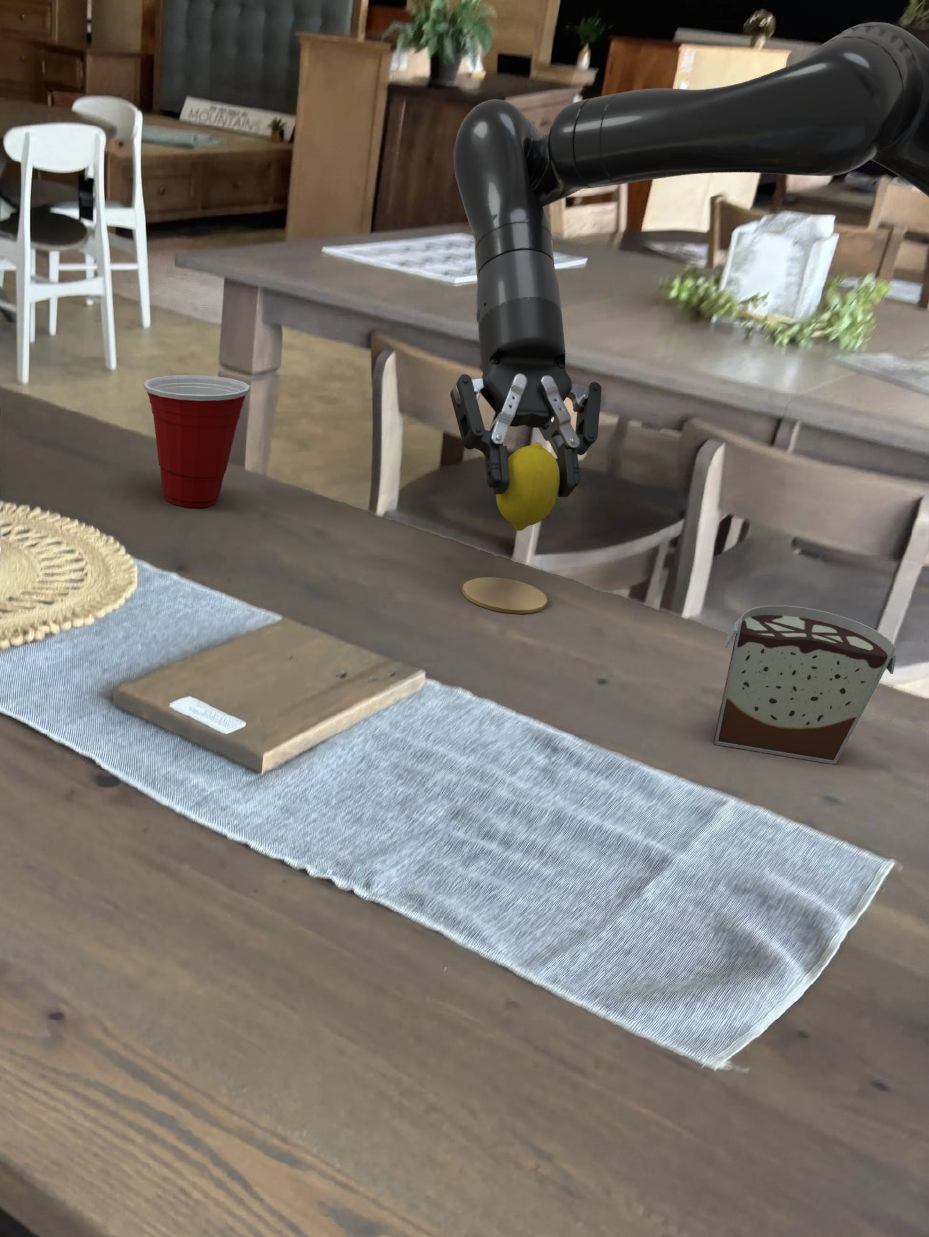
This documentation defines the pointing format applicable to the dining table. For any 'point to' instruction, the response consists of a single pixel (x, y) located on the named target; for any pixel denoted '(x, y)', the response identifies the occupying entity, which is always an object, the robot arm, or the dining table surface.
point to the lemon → (529, 486)
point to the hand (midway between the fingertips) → (534, 491)
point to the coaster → (504, 595)
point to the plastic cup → (194, 433)
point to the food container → (799, 681)
